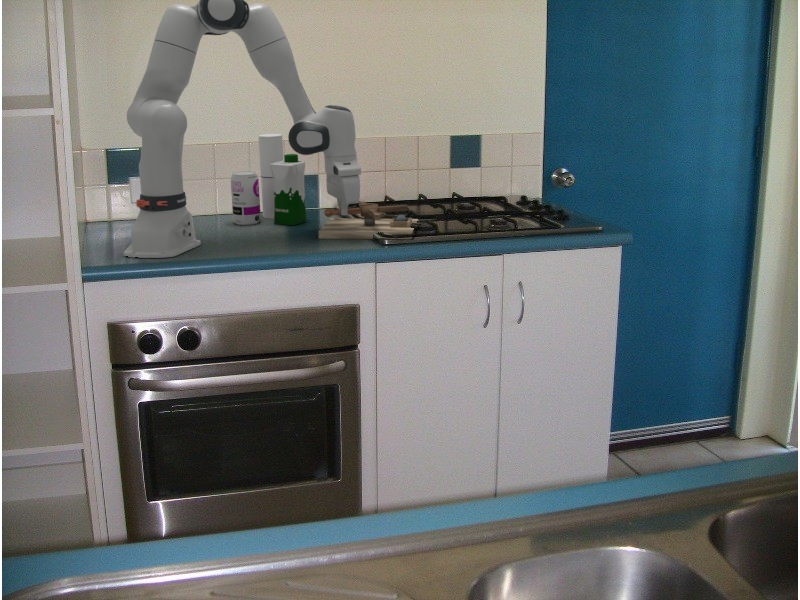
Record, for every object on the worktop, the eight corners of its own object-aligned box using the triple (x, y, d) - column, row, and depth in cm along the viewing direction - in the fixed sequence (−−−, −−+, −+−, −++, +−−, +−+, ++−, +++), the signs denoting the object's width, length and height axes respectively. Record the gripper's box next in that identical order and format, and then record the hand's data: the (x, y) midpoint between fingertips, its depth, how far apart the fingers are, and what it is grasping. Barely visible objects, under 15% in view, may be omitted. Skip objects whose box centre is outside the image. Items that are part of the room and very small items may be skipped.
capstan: (417, 220, 253) (417, 208, 252) (331, 226, 247) (331, 214, 246) (397, 206, 273) (397, 195, 272) (318, 211, 267) (317, 199, 266)
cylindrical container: (266, 219, 281) (262, 137, 274) (260, 215, 287) (255, 134, 280) (289, 217, 283) (285, 135, 276) (282, 213, 290) (278, 133, 283)
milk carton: (310, 220, 278) (307, 154, 272) (293, 226, 270) (290, 158, 264) (286, 218, 282) (283, 153, 276) (269, 224, 274) (265, 157, 268)
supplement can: (263, 220, 280) (260, 171, 276) (257, 225, 272) (254, 175, 268) (237, 219, 281) (234, 171, 276) (230, 225, 273) (226, 175, 269)
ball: (405, 226, 258) (405, 216, 258) (395, 226, 259) (395, 216, 258) (406, 224, 261) (406, 214, 260) (396, 224, 262) (396, 213, 261)
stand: (412, 239, 252) (411, 223, 250) (318, 238, 254) (318, 222, 253) (418, 225, 269) (418, 210, 267) (330, 224, 272) (330, 209, 270)
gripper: (319, 161, 261) (322, 209, 265) (340, 171, 242) (343, 222, 246) (340, 160, 263) (343, 207, 267) (363, 169, 244) (365, 220, 248)
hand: (343, 214), depth 256 cm, fingers closed
